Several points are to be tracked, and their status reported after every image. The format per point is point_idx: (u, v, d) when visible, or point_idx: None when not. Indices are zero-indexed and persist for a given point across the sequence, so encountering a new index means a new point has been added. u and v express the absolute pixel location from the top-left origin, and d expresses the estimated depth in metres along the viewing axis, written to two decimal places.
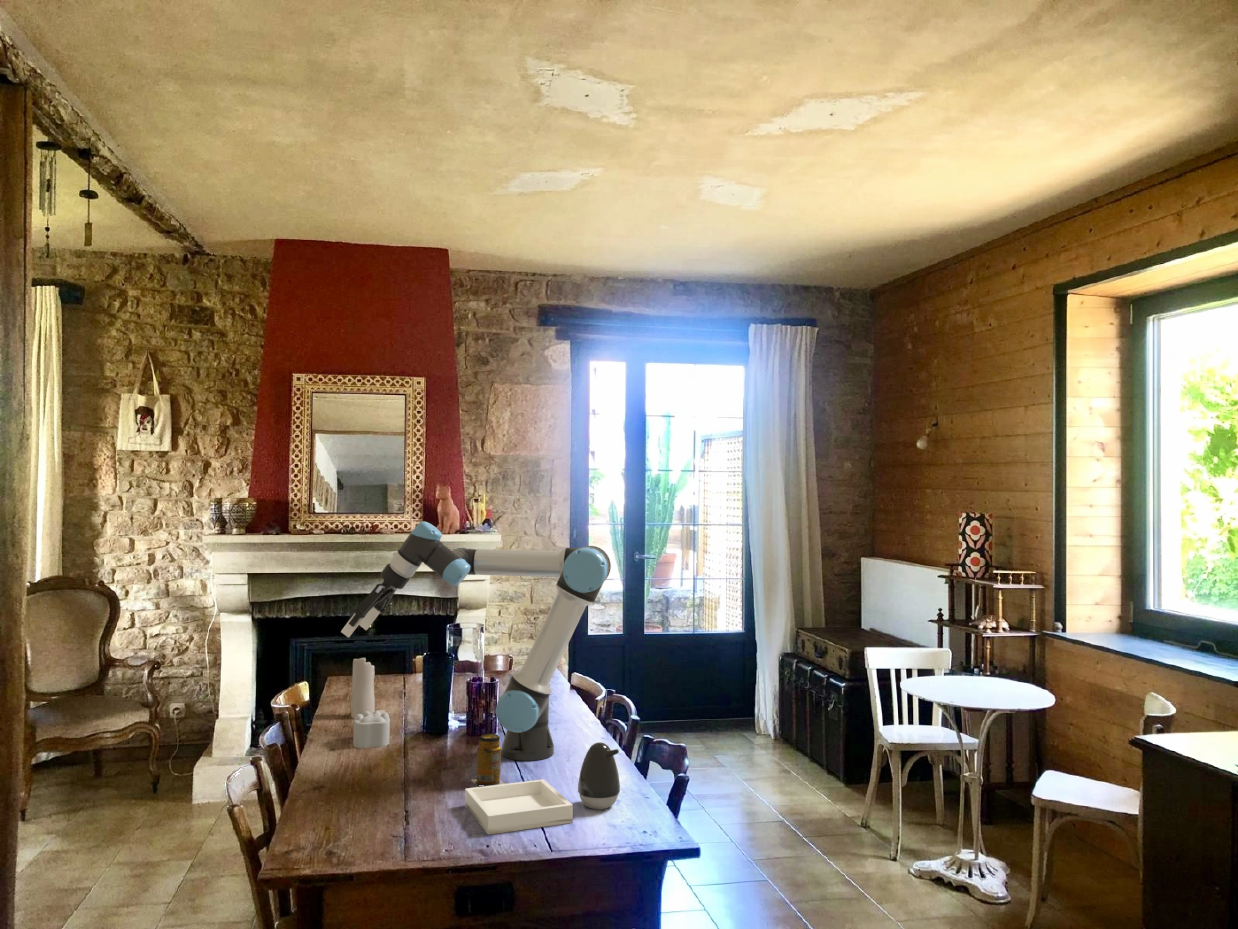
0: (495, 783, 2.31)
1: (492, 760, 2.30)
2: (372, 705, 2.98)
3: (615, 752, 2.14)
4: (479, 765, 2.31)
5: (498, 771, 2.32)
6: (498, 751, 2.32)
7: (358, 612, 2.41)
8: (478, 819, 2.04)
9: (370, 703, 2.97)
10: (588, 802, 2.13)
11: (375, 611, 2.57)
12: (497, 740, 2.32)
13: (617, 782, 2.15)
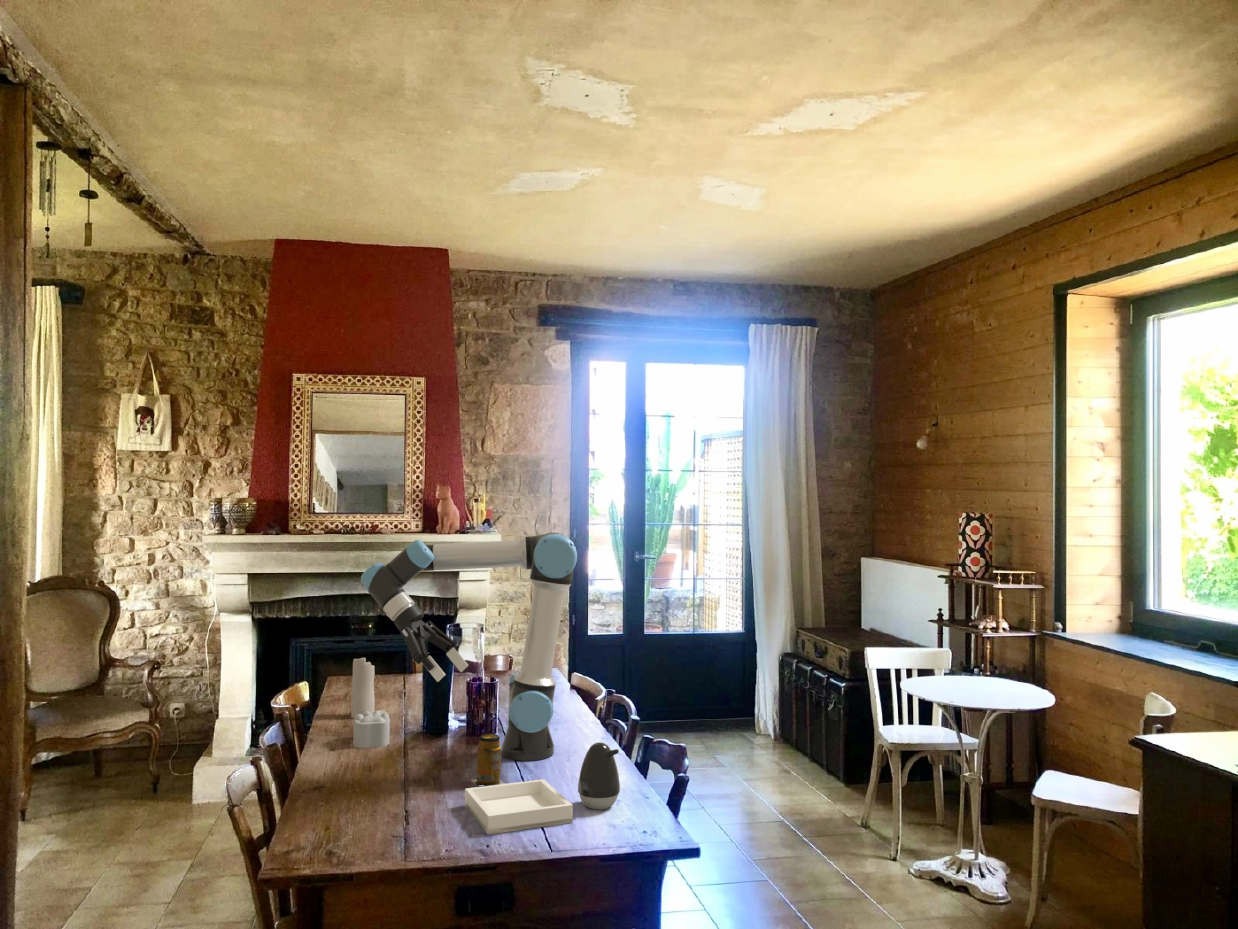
0: (495, 783, 2.31)
1: (492, 760, 2.30)
2: (372, 705, 2.98)
3: (615, 752, 2.14)
4: (479, 765, 2.31)
5: (498, 771, 2.32)
6: (498, 751, 2.32)
7: (416, 656, 2.28)
8: (478, 819, 2.04)
9: (370, 703, 2.97)
10: (588, 802, 2.13)
11: (450, 651, 2.43)
12: (497, 740, 2.32)
13: (617, 782, 2.15)
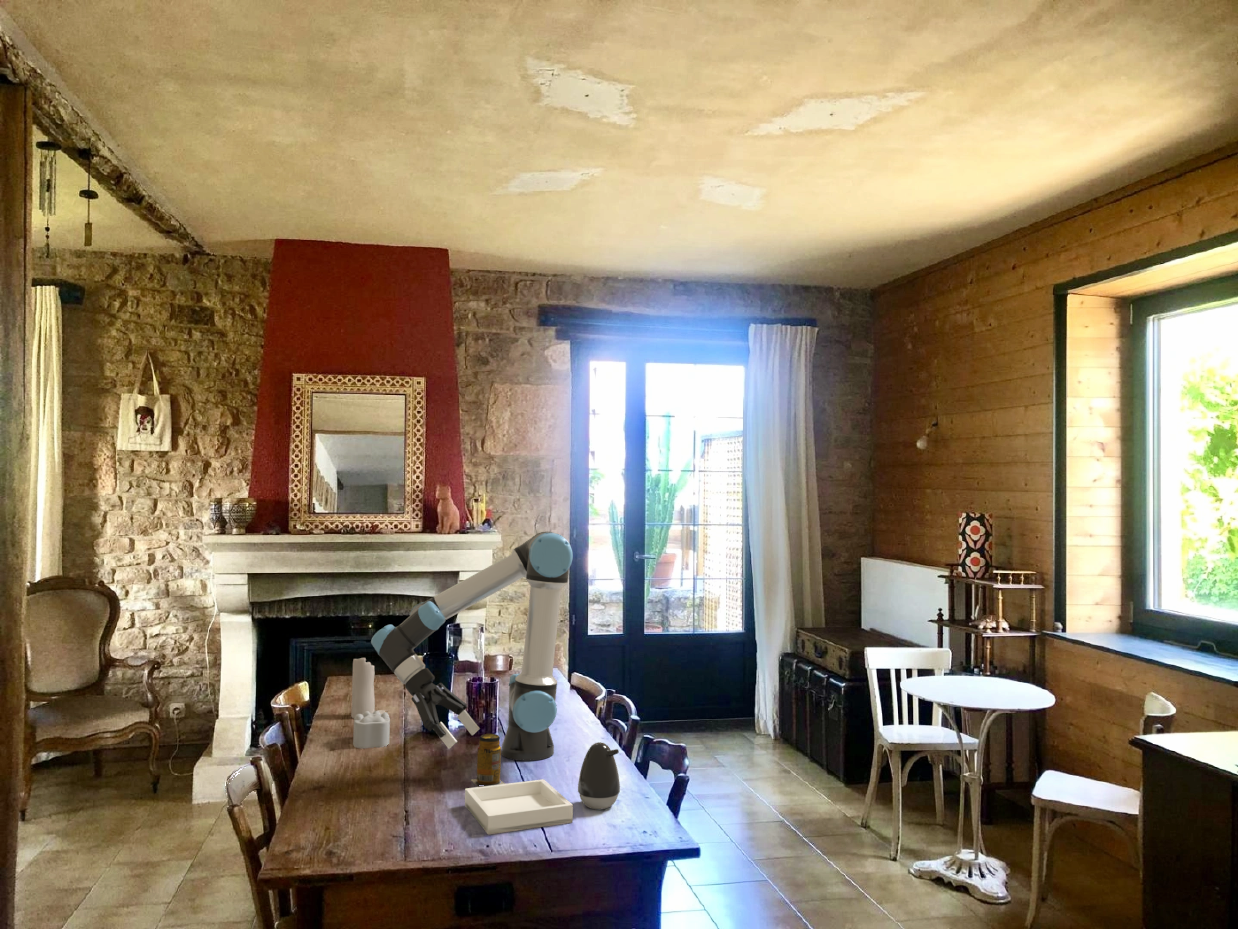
0: (495, 783, 2.31)
1: (492, 760, 2.30)
2: (372, 705, 2.98)
3: (615, 752, 2.14)
4: (479, 765, 2.31)
5: (498, 771, 2.32)
6: (498, 751, 2.32)
7: (427, 723, 2.26)
8: (478, 819, 2.04)
9: (370, 703, 2.97)
10: (588, 802, 2.13)
11: (462, 714, 2.41)
12: (497, 740, 2.32)
13: (617, 782, 2.15)
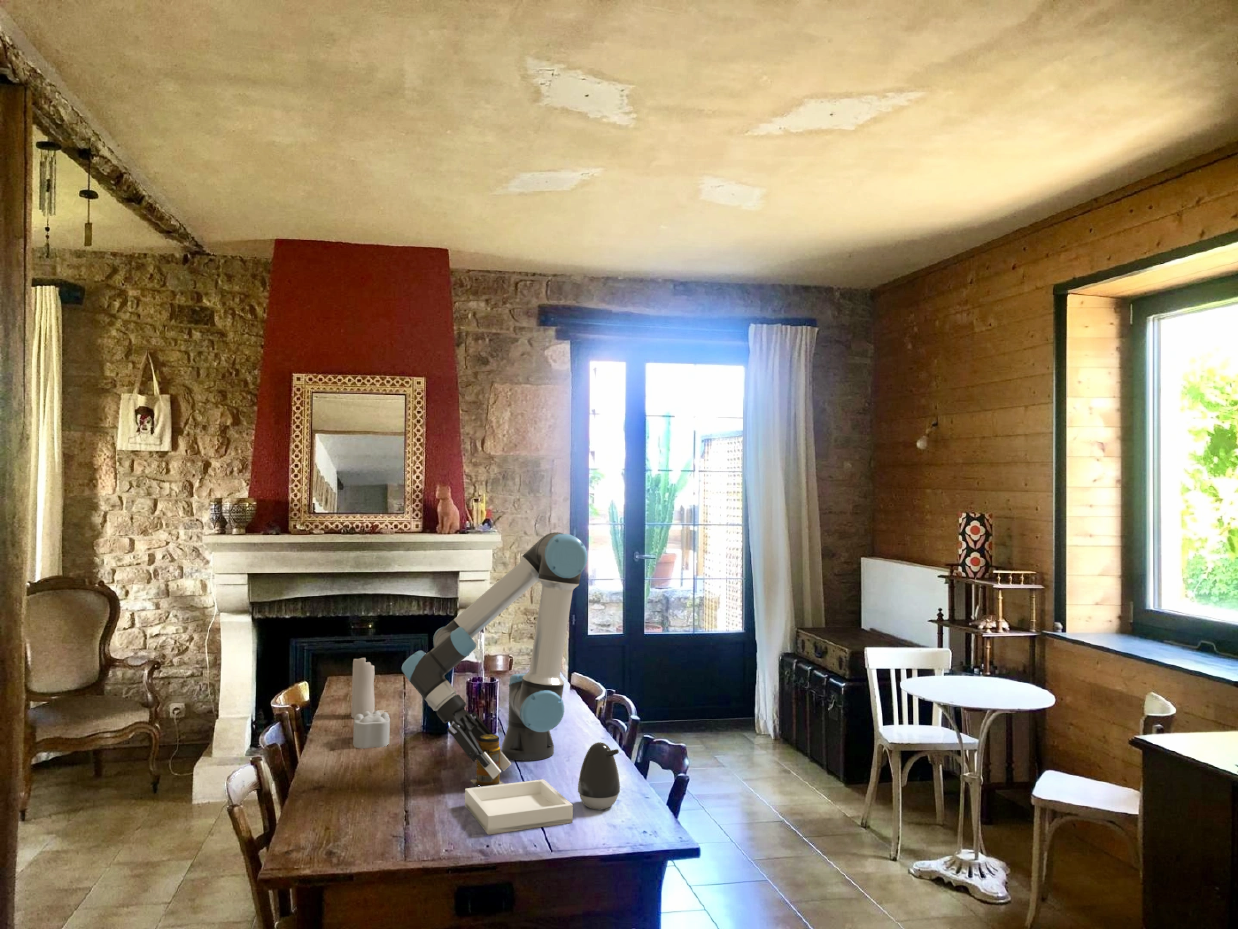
0: (494, 784, 2.30)
1: None
2: (372, 705, 2.98)
3: (615, 752, 2.14)
4: (478, 766, 2.30)
5: None
6: (497, 752, 2.31)
7: (472, 754, 2.26)
8: (478, 819, 2.04)
9: (370, 703, 2.97)
10: (588, 802, 2.13)
11: None
12: (496, 740, 2.31)
13: (617, 782, 2.15)
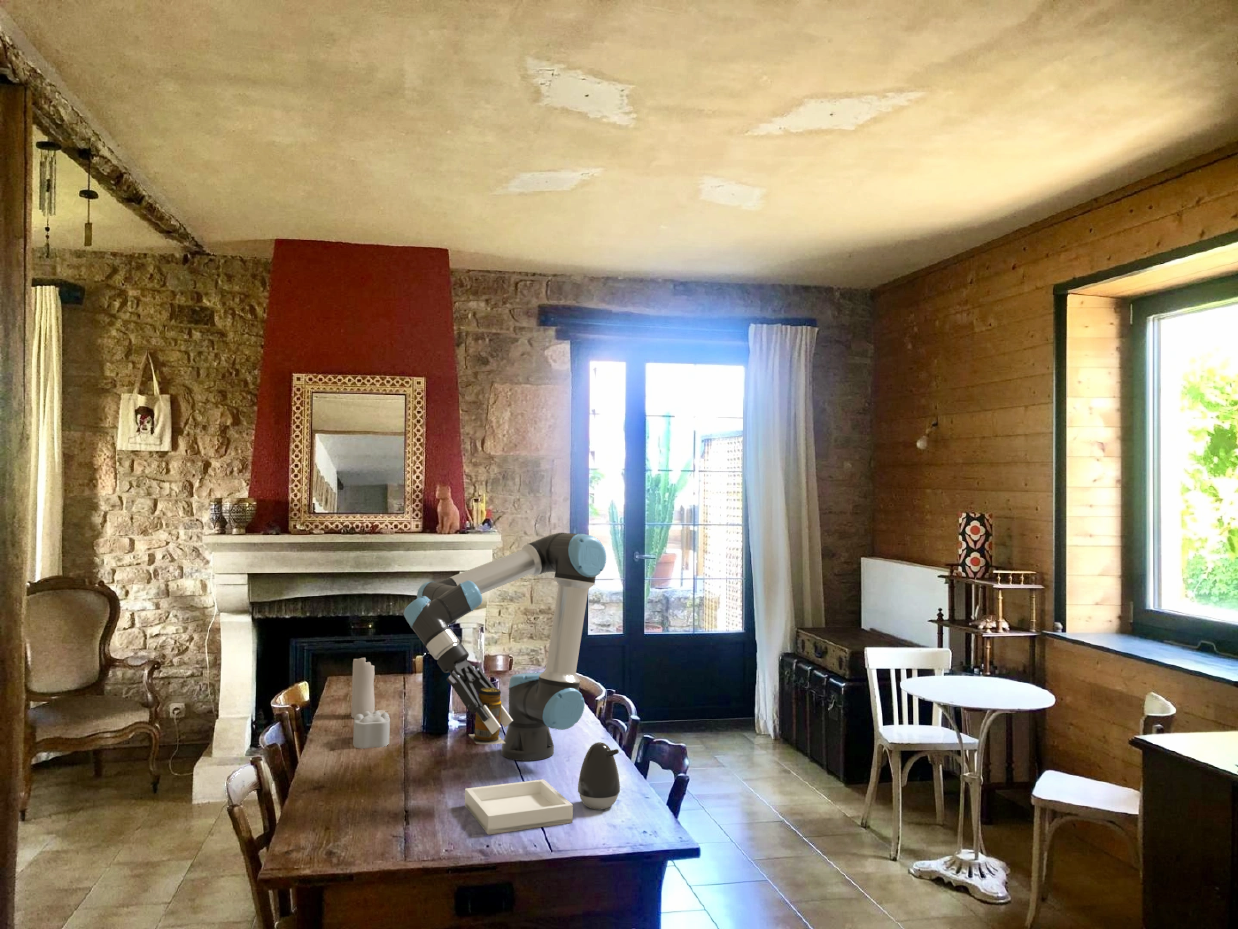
0: (493, 739, 2.17)
1: None
2: (372, 705, 2.98)
3: (615, 752, 2.14)
4: (477, 719, 2.17)
5: None
6: (498, 706, 2.18)
7: (471, 706, 2.14)
8: (478, 819, 2.04)
9: (370, 703, 2.97)
10: (588, 802, 2.13)
11: None
12: (498, 694, 2.18)
13: (617, 782, 2.15)
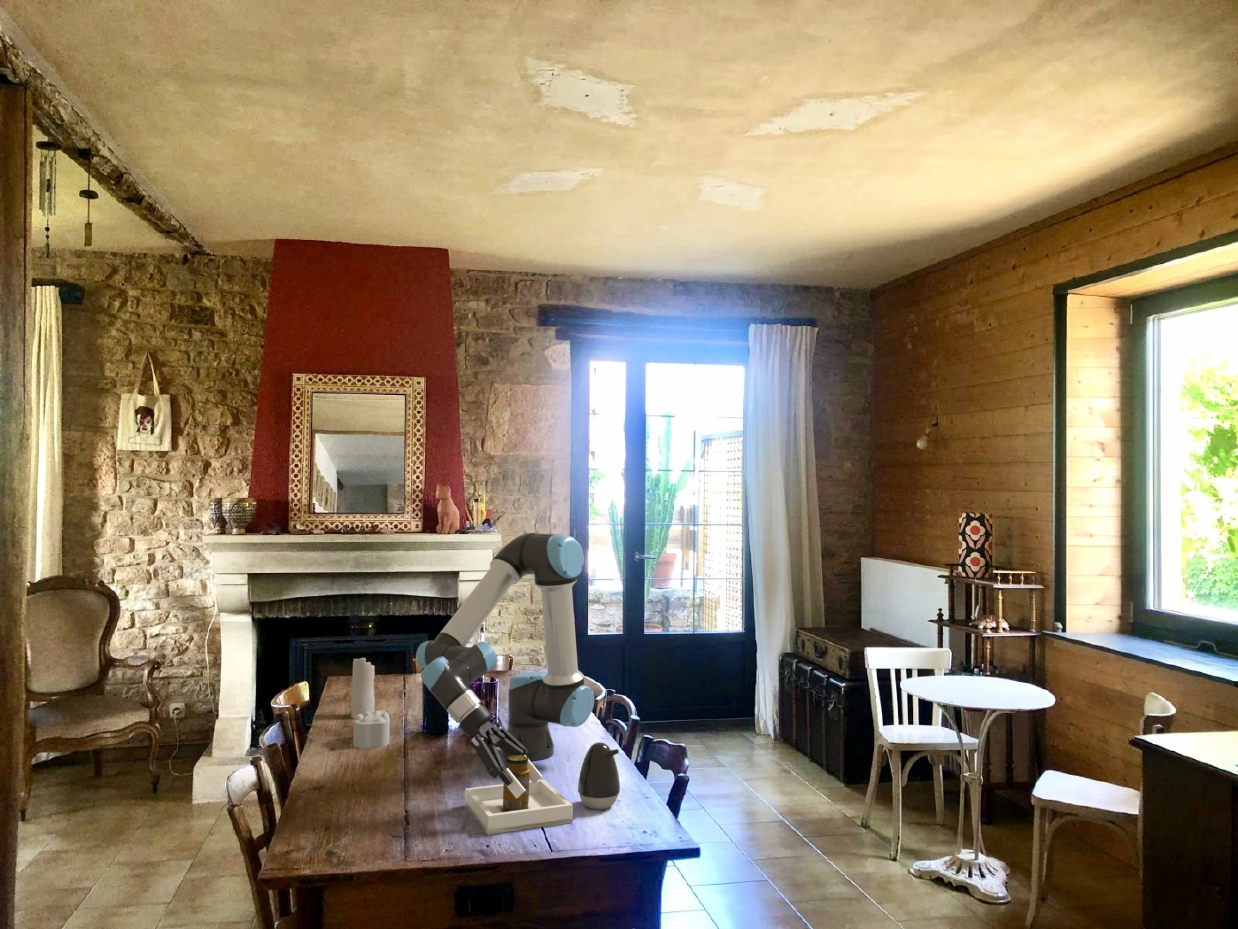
0: None
1: None
2: (372, 705, 2.98)
3: (615, 752, 2.14)
4: (506, 790, 2.08)
5: (527, 797, 2.09)
6: (527, 774, 2.09)
7: (493, 771, 2.03)
8: (478, 819, 2.04)
9: (370, 703, 2.97)
10: (588, 802, 2.13)
11: None
12: (525, 762, 2.10)
13: (617, 782, 2.15)
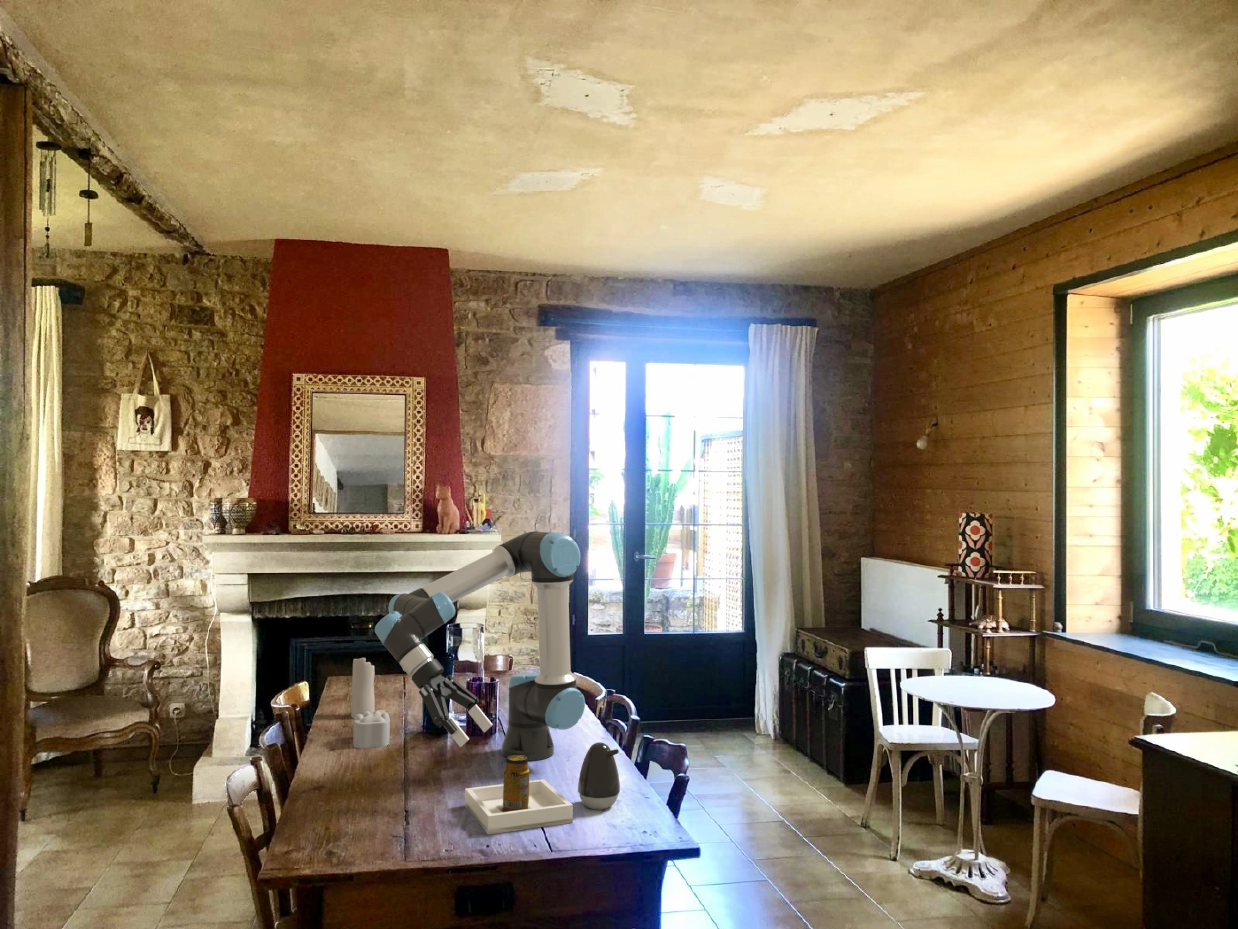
0: None
1: (520, 784, 2.08)
2: (372, 705, 2.98)
3: (615, 752, 2.14)
4: (506, 790, 2.08)
5: (527, 797, 2.09)
6: (527, 774, 2.09)
7: (437, 719, 2.06)
8: (478, 819, 2.04)
9: (370, 703, 2.97)
10: (588, 802, 2.13)
11: (473, 709, 2.21)
12: (525, 762, 2.10)
13: (617, 782, 2.15)
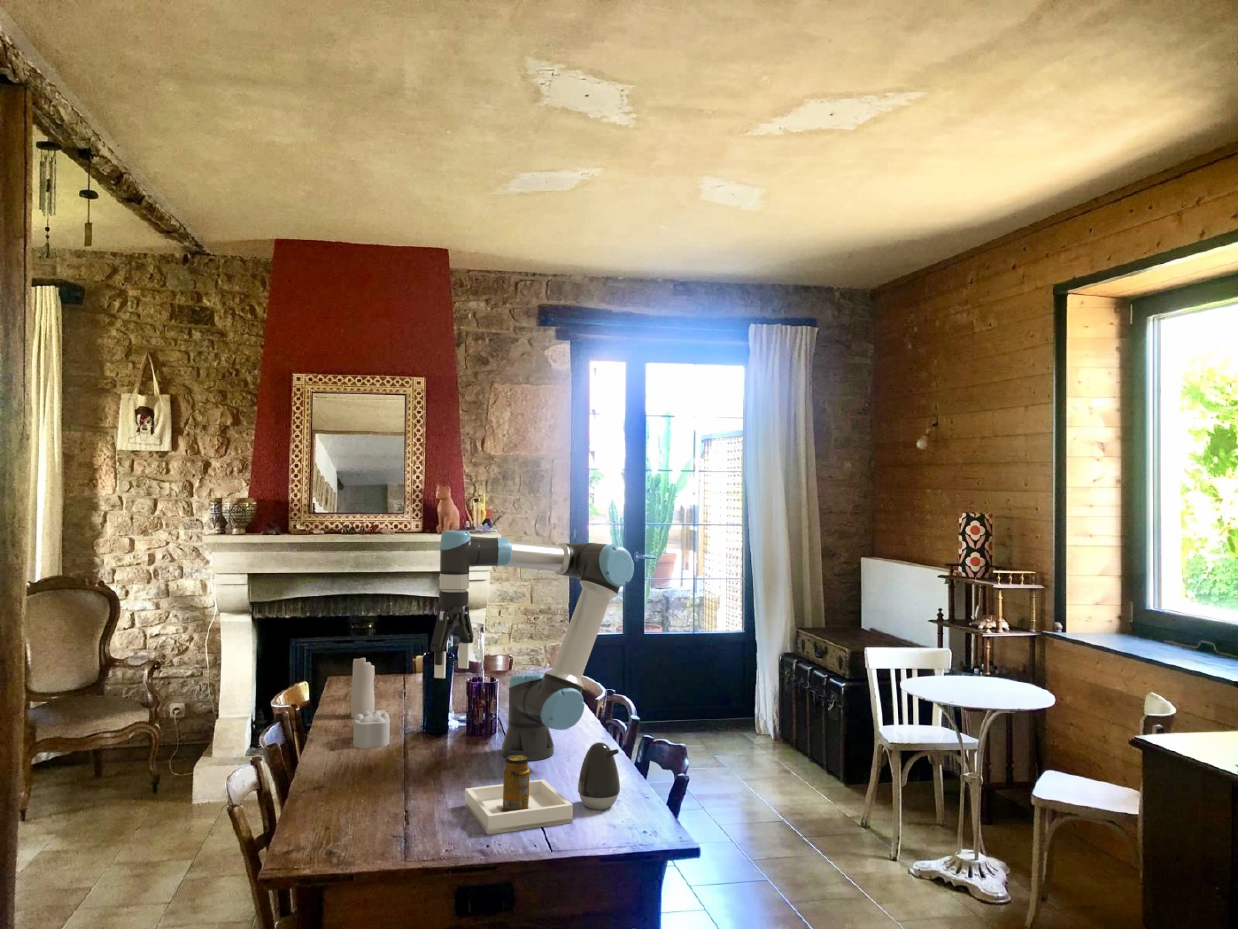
0: None
1: (520, 784, 2.08)
2: (372, 705, 2.98)
3: (615, 752, 2.14)
4: (506, 790, 2.08)
5: (527, 797, 2.09)
6: (527, 774, 2.09)
7: (434, 647, 2.21)
8: (478, 819, 2.04)
9: (370, 703, 2.97)
10: (588, 802, 2.13)
11: (464, 645, 2.37)
12: (525, 762, 2.10)
13: (617, 782, 2.15)
